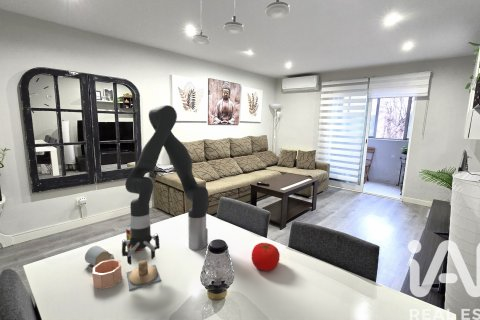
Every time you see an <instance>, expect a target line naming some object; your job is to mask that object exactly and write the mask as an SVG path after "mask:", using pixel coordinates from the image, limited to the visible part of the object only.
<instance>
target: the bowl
mask: <svg viewBox="0 0 480 320" xmlns="http://www.w3.org/2000/svg"><path fill="white" fill-rule="evenodd" d="M122 279H123V276H122V263H121V260H118V259H114V258H113V259H111V260H107V261H102V262H100V263H99V264H97V265H96V266H94V265H93V267H92V281H93V282H92V283H93V285H92V286H93V288H97V289H101V290H103V289H107V288H111V287H114V286H116V285H117V284H118V283H119V282H120V281H122Z"/></svg>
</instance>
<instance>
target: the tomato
mask: <svg viewBox="0 0 480 320" xmlns="http://www.w3.org/2000/svg"><path fill="white" fill-rule="evenodd" d="M280 255H281V254H280V251H279V250H278V248H277V247H276V246H275V245H274V244H271V243H269V242H259V243H257V244H255V246H254V247H253V248H252V251H251V263H252V264H253V265H254V267H255V268H257V269H258V270H260V271H263V272H265V271H266V272H268V271H273V270H274V269H276V268H277V267H278V264H279V262H280Z"/></svg>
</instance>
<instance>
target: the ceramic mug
mask: <svg viewBox="0 0 480 320" xmlns="http://www.w3.org/2000/svg"><path fill="white" fill-rule="evenodd" d="M114 257H115V255H114V254H113V253H110V252H109V251H107V250H106V249H104V248H102V247H101V246H100V245H94V246H91V247H90V248H89V249H88V250H87V251H86V253H85V255H84V261H85V262H86V263H88V264H89V265H91V266H93V267H94V266H96V265H97V264H99V263H100V262H102V261H107V260H111V259H114Z"/></svg>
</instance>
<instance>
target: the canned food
mask: <svg viewBox="0 0 480 320" xmlns="http://www.w3.org/2000/svg"><path fill="white" fill-rule="evenodd" d="M125 234H126V237H125V238H126V240H130V238H131V230H130V224H129V225H127V226H126V227H125ZM130 247H131V244H130V243H129V244H128V246H126V249H127V250H126V252H127V251H128V250H129V249H130ZM143 250H144V248H140V249H135V251H134V252H133V253H139V252H140V251H143ZM133 253H132V254H133Z"/></svg>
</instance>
